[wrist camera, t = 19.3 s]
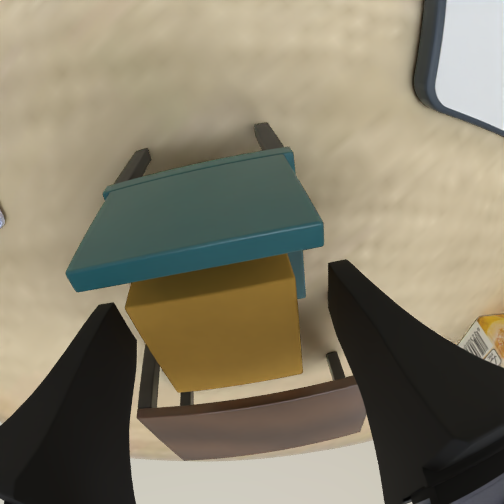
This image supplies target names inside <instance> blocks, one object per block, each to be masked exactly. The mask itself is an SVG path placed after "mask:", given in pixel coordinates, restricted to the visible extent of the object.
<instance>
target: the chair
mask: <svg viewBox="0 0 504 504" xmlns="http://www.w3.org/2000/svg"><path fill="white" fill-rule="evenodd" d="M254 129H255V135H256V138H257V140H258V143H259V145H260V147H261V149H262V151H258V152H252V153H247V154H242V155H236V156H231V157H226V158H221V159H216V160H211V161H207V162H202V163H197V164H193V165H188V166H184V167H180V168H175V169H171V170H167V171H163V172H159V173H155V174H151V175H147V176H143V175H144V173H145V171H146V169H147V167H148V165H149V163H150V161H151V157H150V154H149V150H148V148H146V149H142V150H139V151H136V152H135V153H134V155H133V156H132V158H131V159H130V160H129V162H128V163H127V165H126V166H125V168H124V169H123V171H122V172H121V174H120V175H119V177H118V178H117V180H116V181H115V183H114V184H113V185H110V186H107V188H106V189H105V191H104V192H103V197H104V199H105V202H104V203H103V205H102V207H101V208H100V210H99V212H98V213H97V215H96V217H95V218H94V220H93V222H92V224H91V225H90V227H89V229H88V231H87V232H86V234H85V236H84V238H83V240H82V241H81V243H80V245H79V247H78V249H77V251H76V253H75V255H74V256H73V258H72V260H71V262H70V264H69V266H68V268H67V270H66V276H67V278H68V279H69V281H70V283H71V285H72V286H73V288H74V290H75V291H76V292H83V291H88V290H94V289H99V288H105V287H110V286H116V285H121V284H127V283H132V282H137V281H143V280H148V279H154V278H159V277H164V276H170V275H175V274H181V273H186V272H191V271H197V270H202V269H207V268H213V267H218V266H223V265H228V264H234V263H239V262H244V261H249V260H255V259H260V258H265V257H270V256H276V255H281V254H286V253H287V254H288V257H289V260H290V263H291V266H292V269H293V273H294V276H295V280H296V291H297V299H301V298H305V297H306V289H305V274H304V261H303V250H307V249H312V248H317V247H322V246H323V245H324V225H323V221H322V219H321V218H320V216H319V214H318V212H317V210H316V209H315V207H314V205H313V203H312V202H311V200H310V198H309V197H308V195H307V193H306V191H305V190H304V188H303V186H302V185H301V183H300V181H299V180H298V178H297V176H296V173H295V163H294V155H293V152H292V150H291V149H290V147H284V146H283V144H282V143H281V142H280V140H279V139H278V137H277V136H276V134H275V133H274V131H273V130H272V128H271V127H270V126H269V124H268V123H261V124H255V125H254Z"/></svg>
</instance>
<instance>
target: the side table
mask: <svg viewBox="0 0 504 504" xmlns="http://www.w3.org/2000/svg"><path fill="white" fill-rule="evenodd" d="M327 362H328V366H329V369H330V372H331V375H332V379H333V381H330V382H325V383H321V384H317V385H312V386H308V387H303V388H298V389H294V390H289V391H283V392H278V393H273V394H267V395H261V396H255V397H249V398H243V399H236V400H229V401H221V402H214V403H205V404H196V405H194V396H193V391H190V392H181V397H180V406H174V407H161V408H157V397H158V384H159V371H160V365H159V364H158V362H157V361H156V359H155V358H154V356H153V355H152V353H151V351H150V350H149V348H148V347H147V345H146V344H145V351H144V358H143V366H142V374H141V382H140V391H139V400H138V410H137V419H138V420H139V421H140V422H141V423H142V424H143V425H144V426H145V427H146V428H148V429H149V430H150V431H151V432H152V433H153V434H154V435H155V436H156V437H157V438H158V439H159V440H161V441H162V442H163V443H164V444H165V445H166V446H167V447H169V448H170V449H171V450H172V451H173V452H174V453H175V454H177V455H178V456H179V457H180V458H181V459H183V460H184V461H187V460H204V459H217V458H227V457H236V456H245V455H252V454H259V453H266V452H272V451H278V450H284V449H289V448H295V447H300V446H305V445H309V444H314V443H318V442H323V441H327V440H331V439H335V438H339V437H343V436H347V435H350V434H354V433H357V432H360V430H361V428H362V425H363V422H364V419H365V417H366V414H367V413H366V410H365V406H364V402H363V399H362V396H361V393H360V390H359V387H358V385H357V383H356V380H355V378H354V375H353V376H349V377H346V378H345V375H344V372H343V369H342V366H341V363H340V360H339V357H338V354H337V352H334V353H330V354H327Z"/></svg>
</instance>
